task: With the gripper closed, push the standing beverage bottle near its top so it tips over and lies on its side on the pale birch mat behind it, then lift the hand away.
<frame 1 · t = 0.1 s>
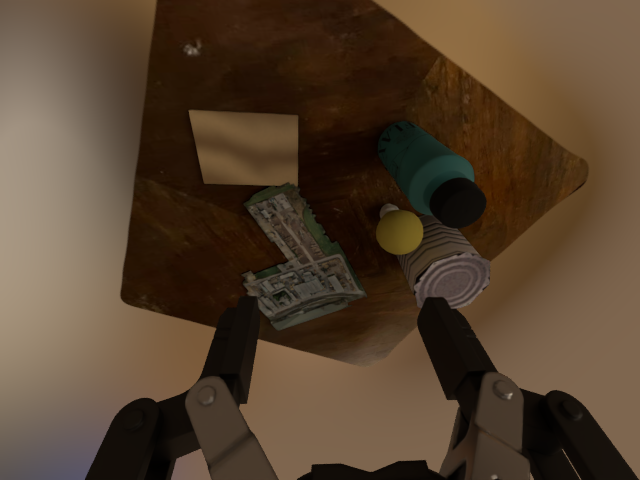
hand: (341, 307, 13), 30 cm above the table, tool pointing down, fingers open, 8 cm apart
mat: (248, 150, 38), on the table
light bulb: (387, 209, 44), on the table
model: (286, 264, 50), on the table, touching mat
beverage bottle: (395, 141, 38), on the table
can: (423, 239, 48), on the table
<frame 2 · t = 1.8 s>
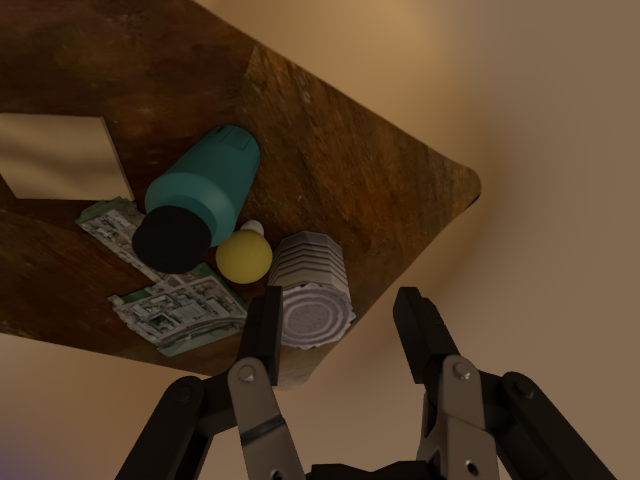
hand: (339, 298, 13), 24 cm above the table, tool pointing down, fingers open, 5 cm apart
mat: (58, 159, 31), on the table
light bulb: (253, 226, 38), on the table
model: (156, 286, 44), on the table, touching mat
beverage bottle: (236, 148, 32), on the table
can: (308, 259, 42), on the table
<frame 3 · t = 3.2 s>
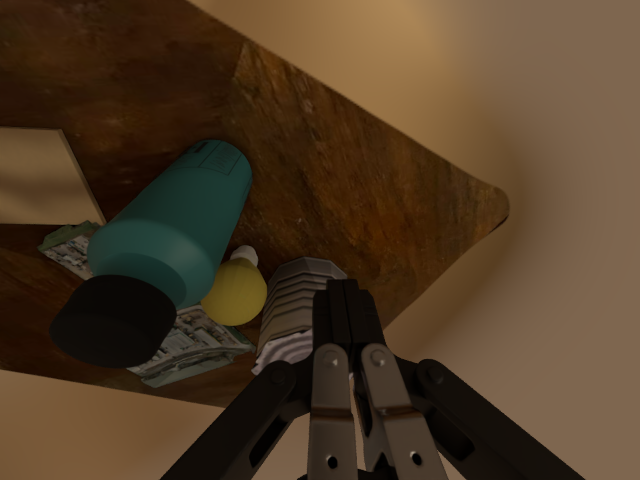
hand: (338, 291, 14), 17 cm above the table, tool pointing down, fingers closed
mat: (12, 178, 26), on the table
light bulb: (246, 251, 33), on the table
model: (137, 315, 39), on the table, touching mat
beverage bottle: (225, 166, 27), on the table
can: (308, 286, 37), on the table
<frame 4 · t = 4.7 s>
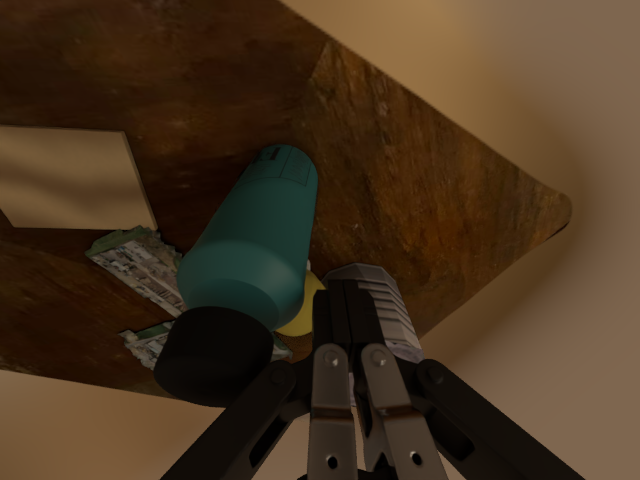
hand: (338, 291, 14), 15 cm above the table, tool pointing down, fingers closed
mat: (66, 181, 25), on the table
light bulb: (296, 257, 32), on the table
model: (176, 321, 38), on the table, touching mat
beverage bottle: (287, 171, 26), on the table, touching hand
can: (354, 292, 36), on the table
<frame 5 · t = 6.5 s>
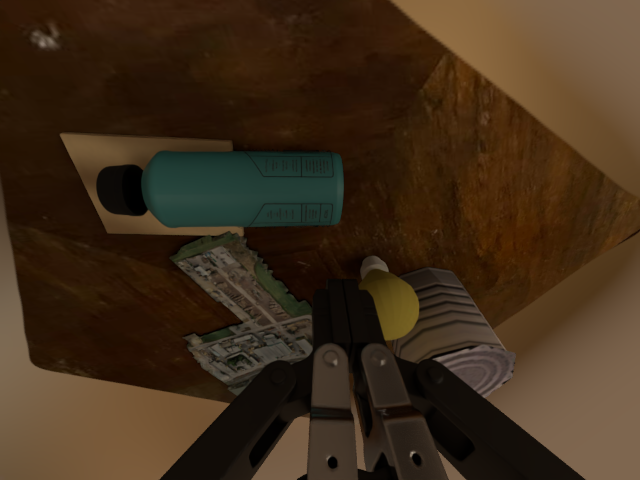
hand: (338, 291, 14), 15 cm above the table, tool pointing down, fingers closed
mat: (166, 189, 26), on the table
light bulb: (371, 262, 33), on the table
model: (241, 325, 38), on the table, touching mat
beverage bottle: (356, 190, 23), point 3 cm above the table, touching mat
can: (420, 296, 37), on the table
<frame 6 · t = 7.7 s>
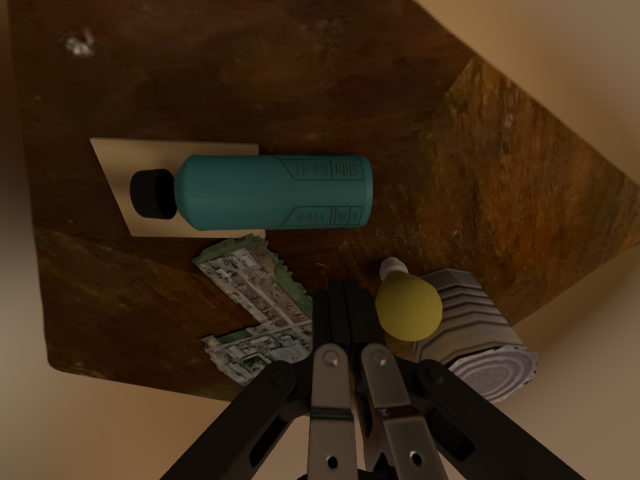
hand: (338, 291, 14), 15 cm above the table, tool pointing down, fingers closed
mat: (190, 192, 26), on the table
light bulb: (389, 263, 33), on the table
model: (259, 326, 38), on the table, touching mat
beverage bottle: (381, 193, 23), point 3 cm above the table, touching mat
can: (437, 297, 37), on the table
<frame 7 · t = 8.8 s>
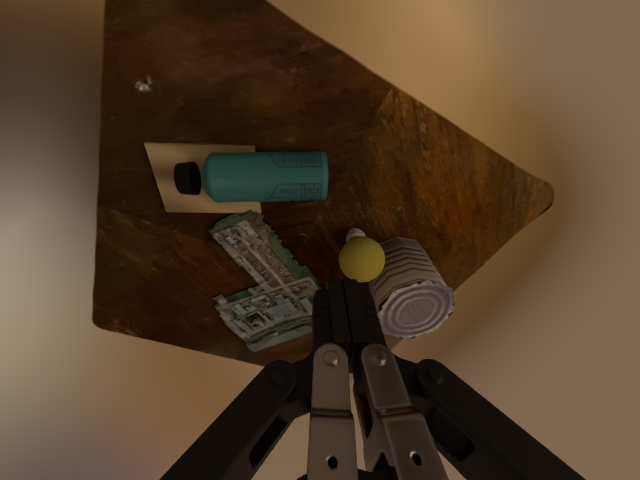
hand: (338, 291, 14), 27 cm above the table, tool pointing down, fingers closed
mat: (208, 179, 38), on the table
light bulb: (354, 233, 44), on the table
model: (257, 287, 50), on the table, touching mat
beverage bottle: (337, 176, 35), point 3 cm above the table, touching mat
can: (394, 261, 48), on the table
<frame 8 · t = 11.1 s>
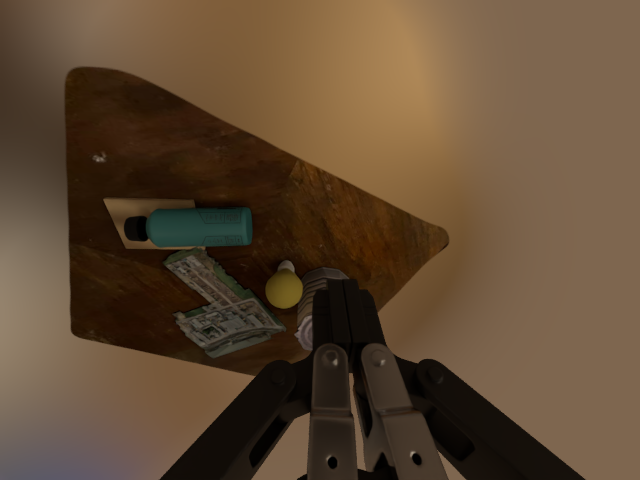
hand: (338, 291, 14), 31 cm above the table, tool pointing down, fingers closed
mat: (159, 224, 46), on the table
light bulb: (286, 264, 53), on the table
model: (210, 305, 59), on the table, touching mat
beverage bottle: (259, 226, 44), point 3 cm above the table, touching mat
can: (324, 285, 57), on the table
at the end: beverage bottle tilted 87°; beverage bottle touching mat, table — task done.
